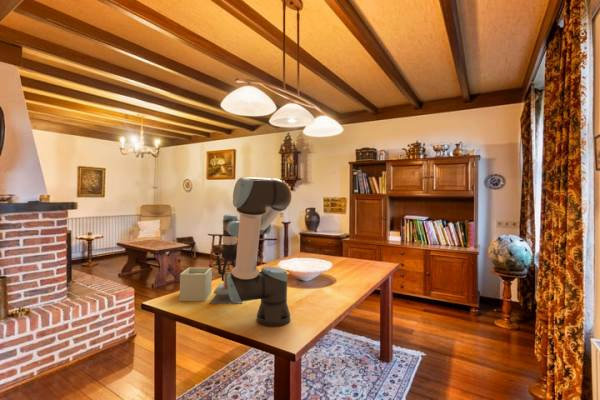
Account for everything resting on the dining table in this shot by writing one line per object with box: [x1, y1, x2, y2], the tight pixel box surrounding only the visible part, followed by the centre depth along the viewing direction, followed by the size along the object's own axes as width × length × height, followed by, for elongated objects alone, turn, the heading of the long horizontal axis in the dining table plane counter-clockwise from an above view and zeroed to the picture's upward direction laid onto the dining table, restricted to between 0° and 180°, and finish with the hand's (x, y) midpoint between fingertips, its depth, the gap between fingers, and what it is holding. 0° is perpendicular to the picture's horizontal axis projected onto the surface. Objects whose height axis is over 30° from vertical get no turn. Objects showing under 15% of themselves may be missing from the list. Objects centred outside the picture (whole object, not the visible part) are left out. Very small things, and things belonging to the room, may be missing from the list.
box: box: [179, 267, 213, 302], centre depth 160 cm, size 13×13×14 cm
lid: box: [213, 271, 232, 295], centre depth 158 cm, size 13×13×10 cm
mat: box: [209, 294, 244, 305], centre depth 159 cm, size 16×16×1 cm
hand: (229, 286), depth 158 cm, fingers closed on lid, 4 cm apart
